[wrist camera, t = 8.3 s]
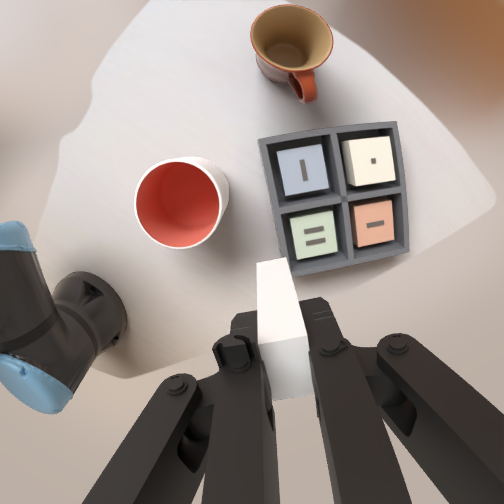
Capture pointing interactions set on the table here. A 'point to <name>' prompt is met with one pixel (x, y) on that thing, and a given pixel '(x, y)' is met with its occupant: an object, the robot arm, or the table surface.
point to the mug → (291, 47)
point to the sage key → (312, 232)
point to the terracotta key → (371, 220)
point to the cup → (181, 201)
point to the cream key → (368, 160)
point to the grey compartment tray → (336, 196)
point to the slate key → (302, 169)
